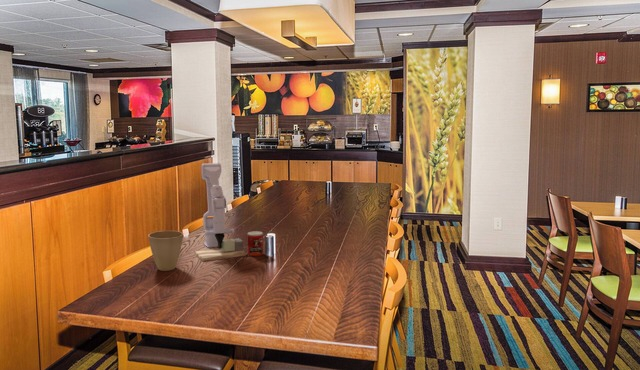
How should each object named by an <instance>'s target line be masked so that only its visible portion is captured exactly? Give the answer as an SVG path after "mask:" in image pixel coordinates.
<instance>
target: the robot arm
mask: <svg viewBox="0 0 640 370" xmlns="http://www.w3.org/2000/svg"><path fill="white" fill-rule="evenodd" d="M200 166H201V167H200V170H201V172H200V173H201V179H202V180H203V181H205V184H206V194H207V195H206V198H207V200H206V201H207V211H206V212H205V213H204V214H203V215H202V226H203V229H204V230H205V231H204V237H205V238H204V239H205V241H204V242H203V244H204V245H205V246H206V247H207V248H209V249H211V248H219V249H222V244H221V243H222V241H223V239H225V235H226V234H234V233H235V228H226V209H227V199H226V197H225V195H224V192H223V188H222V186H221V185H220V183H219V181H220V180H219V179H220V178H221V174H222V165H221V163H220V162H215V163H212V162H210V163H205V162H202V164H201V165H200Z"/></svg>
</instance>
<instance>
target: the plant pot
mask: <svg viewBox="0 0 640 370" xmlns="http://www.w3.org/2000/svg"><path fill="white" fill-rule="evenodd" d="M147 235H148V243H149V247H150V250H151V253H152V256H153V260H154V263H155V265H156V267H157V269H158V270H159V271H162V272H167V271H169V272H170V271H172V270H175V269H176V266H177V264H178V260H179V258H180V253H181V249H182V243H183V238H184V232H182V231H178V230H160V231H154V232H151V233H149V234H147Z"/></svg>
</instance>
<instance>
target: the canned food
mask: <svg viewBox="0 0 640 370" xmlns="http://www.w3.org/2000/svg"><path fill="white" fill-rule="evenodd" d="M246 237H247V239H246V240H247V255H248V256H250V257H260V256H262V255H263V254H264V234H263V231H259V230H258V231H257V230H255V231H254V230H253V231H249V232H247V235H246Z"/></svg>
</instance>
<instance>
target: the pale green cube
mask: <svg viewBox="0 0 640 370" xmlns="http://www.w3.org/2000/svg"><path fill="white" fill-rule="evenodd" d="M233 239H234V238H223V241H222V243H221V244H222V249H220V250H222V251H223V252H227V251H235V241H234V240H233Z"/></svg>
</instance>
